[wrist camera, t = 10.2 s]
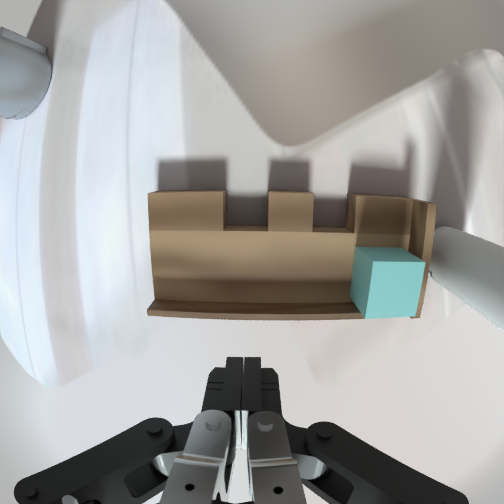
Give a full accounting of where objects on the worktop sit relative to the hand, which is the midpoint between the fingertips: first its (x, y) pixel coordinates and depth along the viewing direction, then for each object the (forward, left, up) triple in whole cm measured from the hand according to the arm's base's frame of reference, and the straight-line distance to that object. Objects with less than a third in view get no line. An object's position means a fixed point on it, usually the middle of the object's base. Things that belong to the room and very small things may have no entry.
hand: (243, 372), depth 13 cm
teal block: (0, +12, -16) cm, 20 cm away
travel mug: (-1, +22, -19) cm, 29 cm away
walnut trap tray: (-1, +4, -19) cm, 19 cm away
